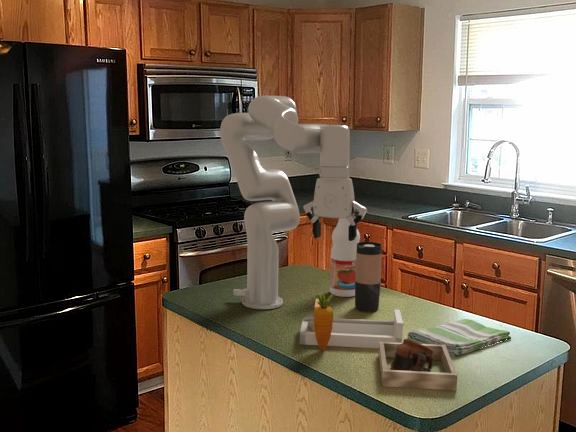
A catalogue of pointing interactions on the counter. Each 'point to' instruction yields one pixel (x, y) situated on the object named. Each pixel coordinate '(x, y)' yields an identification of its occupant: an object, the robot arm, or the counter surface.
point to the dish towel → (460, 336)
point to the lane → (356, 332)
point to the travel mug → (368, 276)
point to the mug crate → (417, 377)
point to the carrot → (323, 321)
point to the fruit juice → (343, 261)
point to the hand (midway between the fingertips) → (334, 238)
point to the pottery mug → (418, 354)
